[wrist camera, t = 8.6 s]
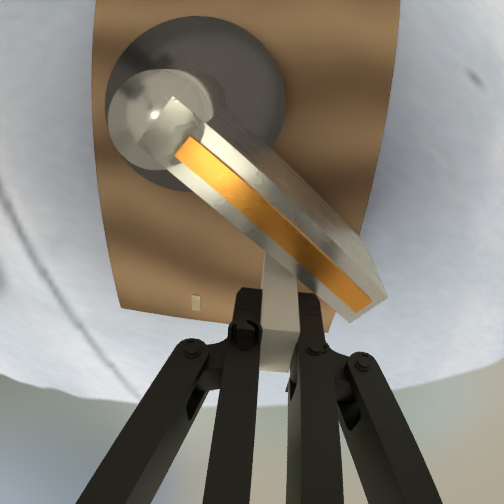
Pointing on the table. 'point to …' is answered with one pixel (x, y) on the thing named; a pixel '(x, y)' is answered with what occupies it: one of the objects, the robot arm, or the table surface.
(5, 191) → the table surface
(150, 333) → the table surface
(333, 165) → the board
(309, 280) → the lever handle
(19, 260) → the table surface
